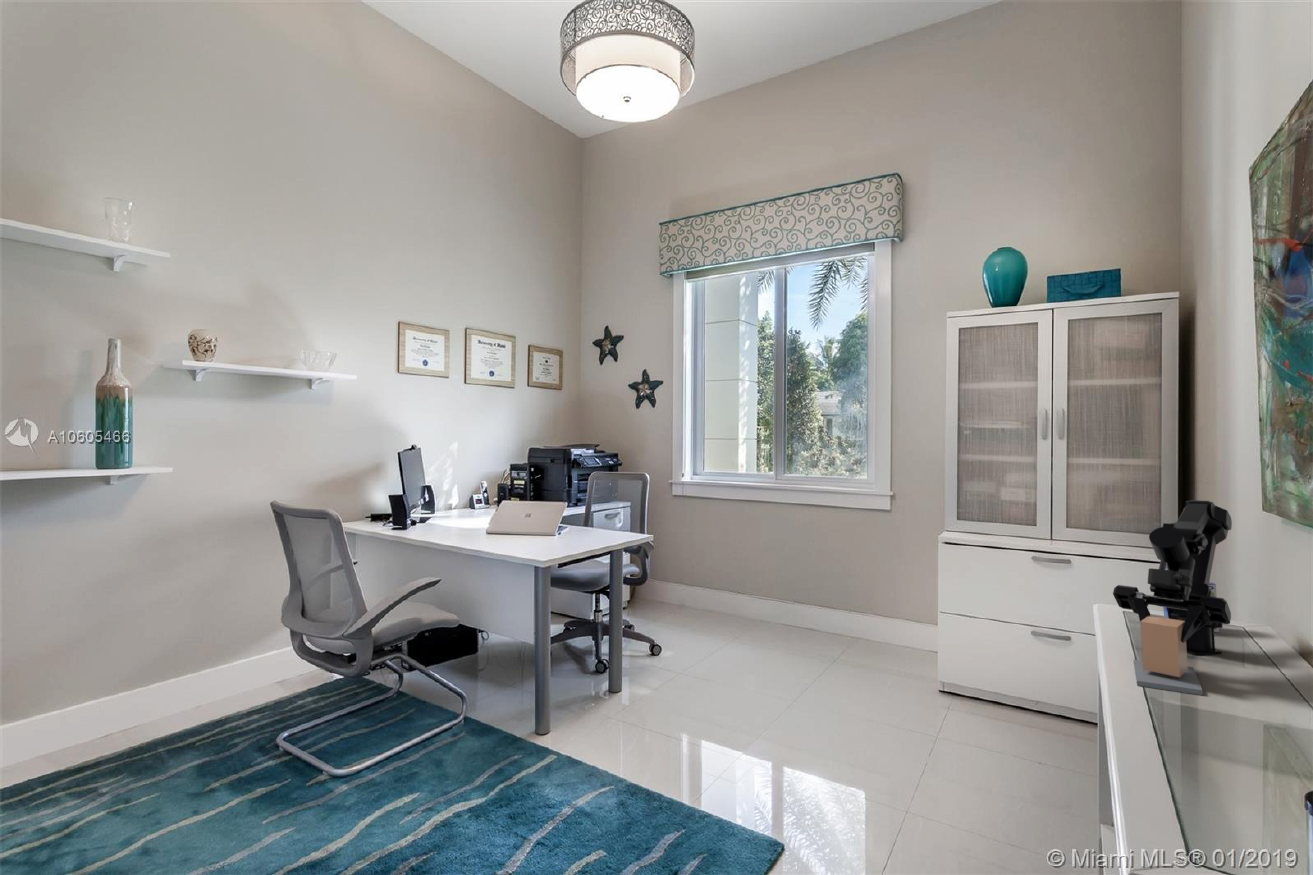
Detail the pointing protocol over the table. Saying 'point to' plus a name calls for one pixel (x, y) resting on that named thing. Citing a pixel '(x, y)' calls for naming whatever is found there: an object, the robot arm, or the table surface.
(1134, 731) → the table surface
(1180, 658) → the cover box
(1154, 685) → the post board
